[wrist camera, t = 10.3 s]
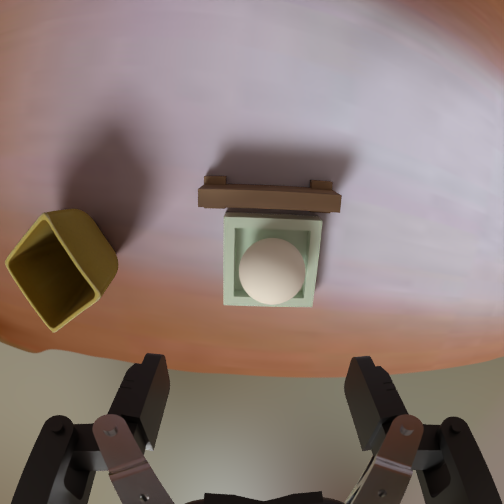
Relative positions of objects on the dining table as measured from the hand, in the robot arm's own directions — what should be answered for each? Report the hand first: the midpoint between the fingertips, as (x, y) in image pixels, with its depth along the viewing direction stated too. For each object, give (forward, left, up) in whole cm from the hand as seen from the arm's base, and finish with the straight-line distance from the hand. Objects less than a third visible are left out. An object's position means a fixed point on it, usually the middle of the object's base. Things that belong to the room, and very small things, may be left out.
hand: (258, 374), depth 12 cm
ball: (+2, +2, -18) cm, 18 cm away
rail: (-5, +1, -19) cm, 20 cm away
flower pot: (+1, -18, -19) cm, 27 cm away
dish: (+2, +2, -19) cm, 19 cm away
